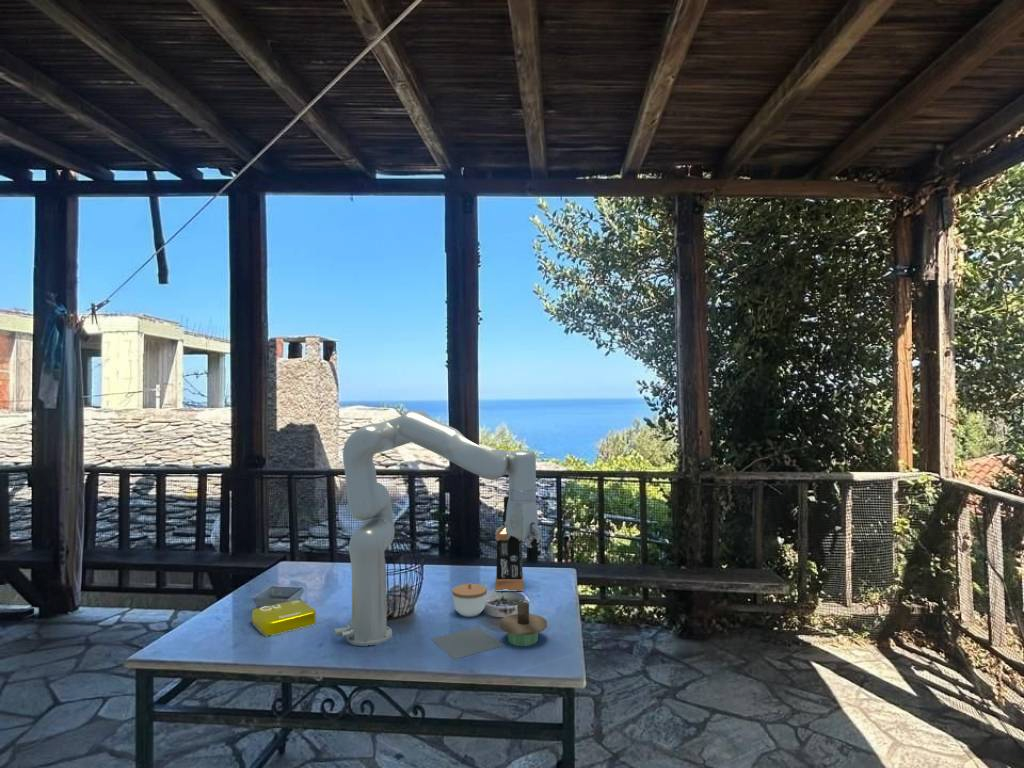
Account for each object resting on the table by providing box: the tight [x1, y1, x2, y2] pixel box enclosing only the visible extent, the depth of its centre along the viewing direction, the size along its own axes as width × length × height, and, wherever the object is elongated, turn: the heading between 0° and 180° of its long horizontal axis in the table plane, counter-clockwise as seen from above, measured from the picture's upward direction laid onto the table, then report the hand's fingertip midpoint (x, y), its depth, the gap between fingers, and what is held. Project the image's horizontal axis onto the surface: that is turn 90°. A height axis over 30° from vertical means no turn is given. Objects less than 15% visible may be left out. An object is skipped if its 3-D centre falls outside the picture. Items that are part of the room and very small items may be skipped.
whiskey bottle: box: [494, 495, 525, 592], centre depth 208 cm, size 10×10×32 cm
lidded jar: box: [451, 582, 488, 618], centre depth 182 cm, size 11×11×9 cm
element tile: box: [251, 599, 317, 635], centre depth 176 cm, size 15×15×5 cm
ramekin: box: [507, 632, 539, 647], centre depth 161 cm, size 9×9×4 cm
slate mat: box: [430, 626, 506, 660], centre depth 160 cm, size 15×15×1 cm
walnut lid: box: [499, 601, 548, 635], centre depth 161 cm, size 13×13×6 cm
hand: (522, 557), depth 162 cm, fingers open, 9 cm apart
